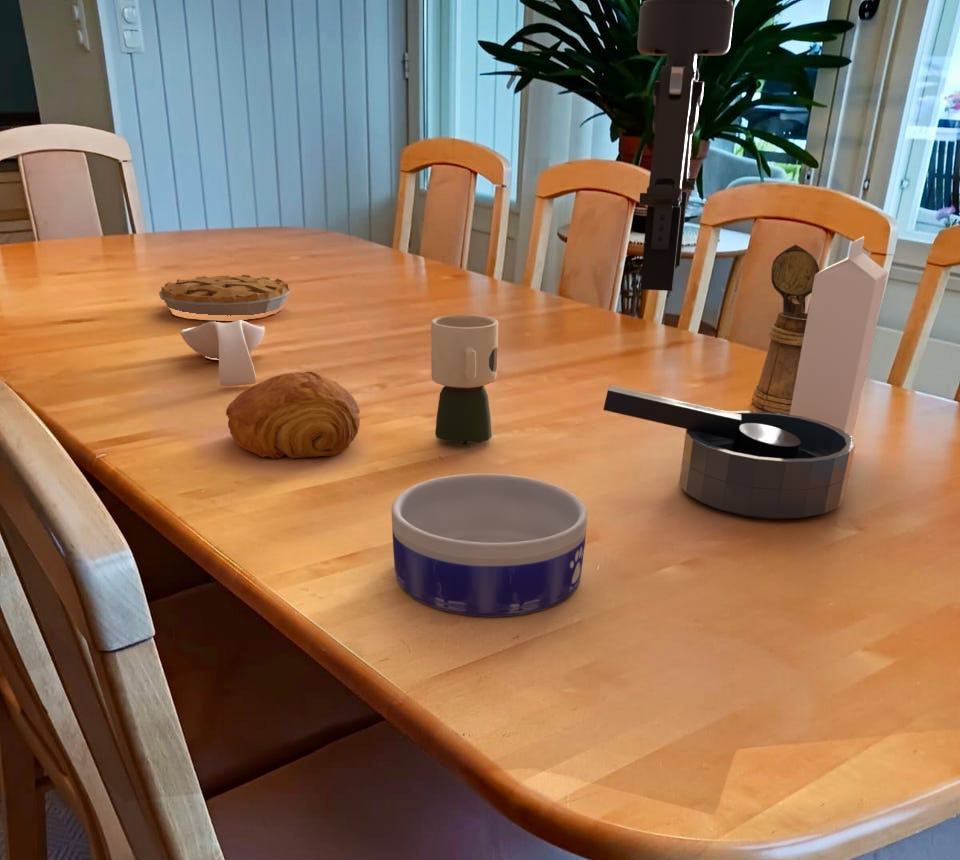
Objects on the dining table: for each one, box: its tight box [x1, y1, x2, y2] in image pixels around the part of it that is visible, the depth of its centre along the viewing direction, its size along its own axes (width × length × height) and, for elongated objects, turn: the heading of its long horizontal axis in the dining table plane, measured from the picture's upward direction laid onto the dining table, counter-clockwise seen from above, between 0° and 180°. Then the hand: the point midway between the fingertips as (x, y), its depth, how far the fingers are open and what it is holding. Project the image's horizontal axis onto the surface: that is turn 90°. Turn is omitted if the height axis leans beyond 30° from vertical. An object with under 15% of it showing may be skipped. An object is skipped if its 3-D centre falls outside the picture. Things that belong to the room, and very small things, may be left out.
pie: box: [158, 274, 292, 316], centre depth 167 cm, size 22×22×5 cm
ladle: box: [603, 384, 800, 459], centre depth 95 cm, size 19×6×6 cm, turn 77°
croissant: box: [225, 371, 361, 460], centre depth 106 cm, size 14×16×8 cm
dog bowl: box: [391, 473, 588, 618], centre depth 77 cm, size 15×15×6 cm
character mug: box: [430, 314, 499, 446], centre depth 105 cm, size 11×7×13 cm, turn 9°
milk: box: [790, 236, 888, 438], centre depth 102 cm, size 6×6×22 cm
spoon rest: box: [180, 320, 266, 387], centre depth 134 cm, size 24×12×7 cm, turn 19°
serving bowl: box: [678, 410, 856, 520], centre depth 94 cm, size 16×16×6 cm
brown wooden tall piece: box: [751, 244, 820, 415], centre depth 121 cm, size 9×14×18 cm, turn 178°
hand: (661, 276), depth 89 cm, fingers open, 13 cm apart
